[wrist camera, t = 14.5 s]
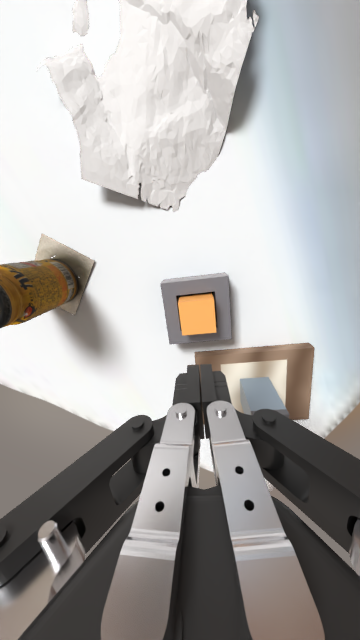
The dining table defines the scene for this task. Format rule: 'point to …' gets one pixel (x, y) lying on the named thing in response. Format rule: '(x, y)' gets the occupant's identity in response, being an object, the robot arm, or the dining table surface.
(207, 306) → the button
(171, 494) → the robot arm
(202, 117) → the paper
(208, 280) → the button housing
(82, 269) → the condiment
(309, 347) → the drawing board
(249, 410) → the grey rectangular box
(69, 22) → the dining table surface
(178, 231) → the dining table surface
